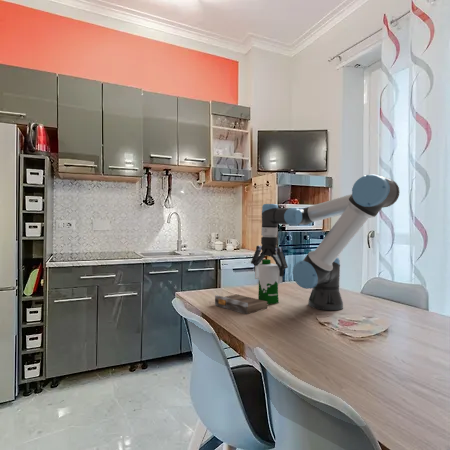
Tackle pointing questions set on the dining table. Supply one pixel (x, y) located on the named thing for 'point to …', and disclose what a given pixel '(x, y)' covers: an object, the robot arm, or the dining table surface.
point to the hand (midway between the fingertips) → (268, 281)
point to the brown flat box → (240, 303)
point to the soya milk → (268, 282)
